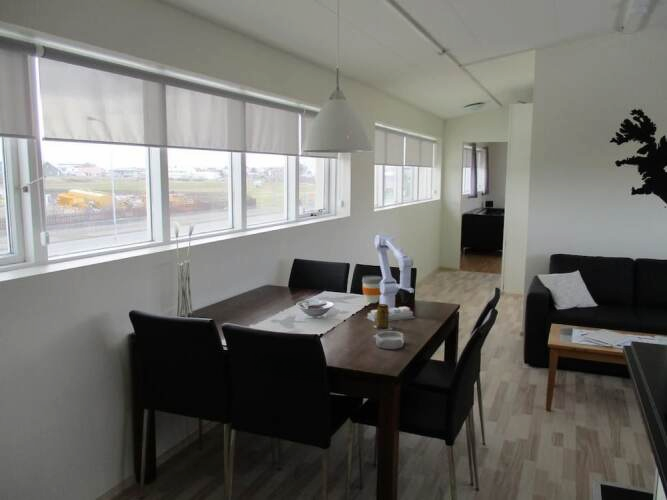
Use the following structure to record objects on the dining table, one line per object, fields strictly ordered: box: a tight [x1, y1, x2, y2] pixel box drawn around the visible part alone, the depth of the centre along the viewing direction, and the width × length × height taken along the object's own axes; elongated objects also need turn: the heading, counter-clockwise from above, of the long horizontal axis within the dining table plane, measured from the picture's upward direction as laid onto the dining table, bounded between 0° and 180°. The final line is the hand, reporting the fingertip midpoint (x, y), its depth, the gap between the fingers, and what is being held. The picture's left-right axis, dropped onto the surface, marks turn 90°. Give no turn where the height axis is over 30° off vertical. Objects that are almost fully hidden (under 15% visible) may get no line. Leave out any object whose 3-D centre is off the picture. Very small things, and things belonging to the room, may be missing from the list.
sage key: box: [370, 309, 378, 316], centre depth 296 cm, size 4×4×3 cm
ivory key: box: [398, 306, 411, 312], centre depth 304 cm, size 4×4×3 cm
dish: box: [372, 330, 405, 350], centre depth 253 cm, size 14×14×5 cm
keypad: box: [364, 310, 417, 324], centre depth 300 cm, size 12×26×3 cm, turn 117°
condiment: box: [372, 303, 393, 331], centre depth 280 cm, size 7×8×12 cm
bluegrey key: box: [390, 307, 401, 314], centre depth 301 cm, size 4×4×3 cm
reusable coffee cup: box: [361, 275, 383, 304], centre depth 337 cm, size 13×12×15 cm
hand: (404, 302), depth 303 cm, fingers closed
